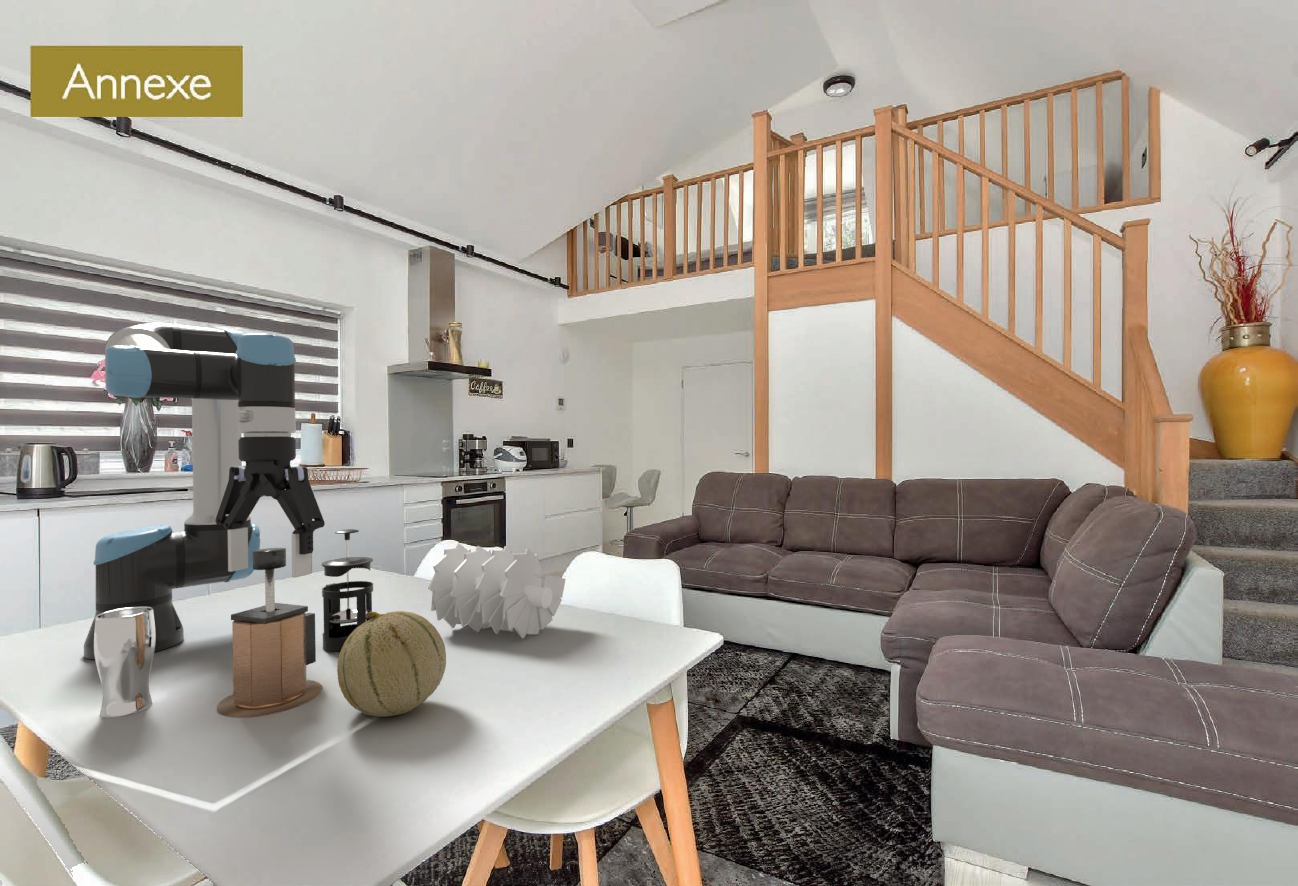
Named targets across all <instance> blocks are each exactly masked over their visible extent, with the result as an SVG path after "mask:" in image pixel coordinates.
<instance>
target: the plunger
mask: <svg viewBox="0 0 1298 886" xmlns="http://www.w3.org/2000/svg"><path fill="white" fill-rule="evenodd" d="M252 562H253V569H254V571H264V582H265V584H264V586H265V587H264V589H265V591H264V593H265V595H264V596H265V597H264V598H265V605H266V612H268V613H269V612H273V611H275V603H276V601H275V599H276V597H275V596H276V595H275V590H276V589H275V569H281V568H284V567H286V566H287V548H285V547H268V548H260V550H255V551H253V552H252Z"/></svg>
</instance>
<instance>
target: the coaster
mask: <svg viewBox="0 0 1298 886" xmlns="http://www.w3.org/2000/svg"><path fill="white" fill-rule="evenodd" d="M323 689H324V686H323V685H322V683H321V682H319V681H316V680H312V679H307V684H306V692H305V693H304V695H303V696H301V697H300V698H298V699H296V700H294V701H292V702H290V703H287V704H284V705H281V706H277V707H273V708H267V709H260V710H244V709H240V708H238V707H236V704H234V696H233V693H231V695H228V696H227V697H225V698H223V699H222V700H221V701H219V702H218V704H217V705H216V708H215V710H216V713H217V714H219V715H220V716H224V717H227V718H234V719H235V718H236V719H237V718H238V719H241V718H242V719H245V718H257V717H263V716H264V717H265V716H269V715H273V714H278V713H282V712H286V711H288V710H292V709H294V708H298V707H300V706H303V705H305V704H307V703H309V702H311V701H312V700H314V699H316V698H317V697H318V696H319V695H320V694H321V693H322V692H323Z"/></svg>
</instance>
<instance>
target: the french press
mask: <svg viewBox="0 0 1298 886" xmlns="http://www.w3.org/2000/svg"><path fill="white" fill-rule="evenodd" d="M359 532H360V530H358V529H354V528H347V529H341V530H337V531H335V533H334V534H338V535H343V534H344V541H345V543H346V544H345V545H346V546H345V547H346V550H345V551H346V557H342V558H334V559H329V560H326V561H322V563H321V566H322V567H323V571H324V576H326V577H331V578H332V577H333V578H334V577H335V578H337V577H342V576H344V575H346V581H343V582H338V583H335V582H334V583H329V584H326V585H325V586H324V587H322V588H321V597H322V599H323V602H322V604H323V633H322V649H323V650H322V651H324V652H327V653H331V654H332V653H335V654H340V652H341V649H342V647H343V645H344V643H345V641H346V640H347V638H348V637H349V635H350V634H351V633H352V632H353V631H354V630H355V629H356V628H357V627H358V626H360V625H361V624H363V623H365V622H366V621H368V620H370V619H372V617H371V618H367V615H368V613H369V612H373V600H372V599H373V598H372V597H373V596H372V593H373V592H374V582H372V581H367V580H356V581H355V580H354V581H350V571H351V570H352V569H365V570H368V571H371V563H372V562H373V561H374V559H373V558H372V557H367V556H350V555H349V553H350V552H349V541H350V540H351V534H355V533H359ZM355 588H356V589H355ZM357 588H358V589H357ZM350 589H351V590H350ZM352 589H353V590H352ZM341 590H343V591H341ZM345 590H346V591H345ZM351 598H352V599H353V598H356V608H355V609H354V608H350V599H351ZM343 599H346V602H347V603H346V604H347V605H346V607H347V608H346V609H344V610H341V600H343ZM353 623H354V624H353Z"/></svg>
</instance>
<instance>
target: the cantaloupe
mask: <svg viewBox="0 0 1298 886" xmlns="http://www.w3.org/2000/svg"><path fill="white" fill-rule="evenodd" d="M371 617H372V619H370V620H368V621H366V622H365V623H363V624H361V625H360V626H358V627H357V628H356V629H355V630H354V631H353V632H352V633H351V634H350V635H349V637H348V638H347V640H346V641H345V643H344V645H343V647H342V649H341V652H340V653H338V654H339V655H338V659H337V666H336V668H337V669H336V670H337V671H336V673H337V680H338V686H339V689H340V692H341V693H342V696H343V697H344V699H345V700H346V701H347V702H348V703H349V705H351V707H353V708H354V709H355V710H357V711H358V712H360V714H361V713H362V714H364V715H366V716H371V717H381V718H382V717H393V716H399V715H404V714H407V713H409V712H411V711H413V710H414V709H416V708H417V707H418V706H420V705H421V704H423V703H424V702H425V701H426V700H427V699H428V698H429V697H430V696H432V695H433V693H435V691H436V690H437V688H438V687H439V685H440V684H441V682H442V680H443V677H444V674H445V671H446V668H447V667H446V666H447V652H446V646H445V643H444V639H443V638H442V636H441V634H440V633H439V631H438V630H437V628H436V626H434V625H433V623H431V621H429V620H428V619H426V618H425V617H424V616H422V615H420V614H417V613H414V612H410V611H404V610H403V611H402V610H398V611H388V612H386V613H378V612H376V611H372V612H369V613H368V615H367V618H371Z"/></svg>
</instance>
